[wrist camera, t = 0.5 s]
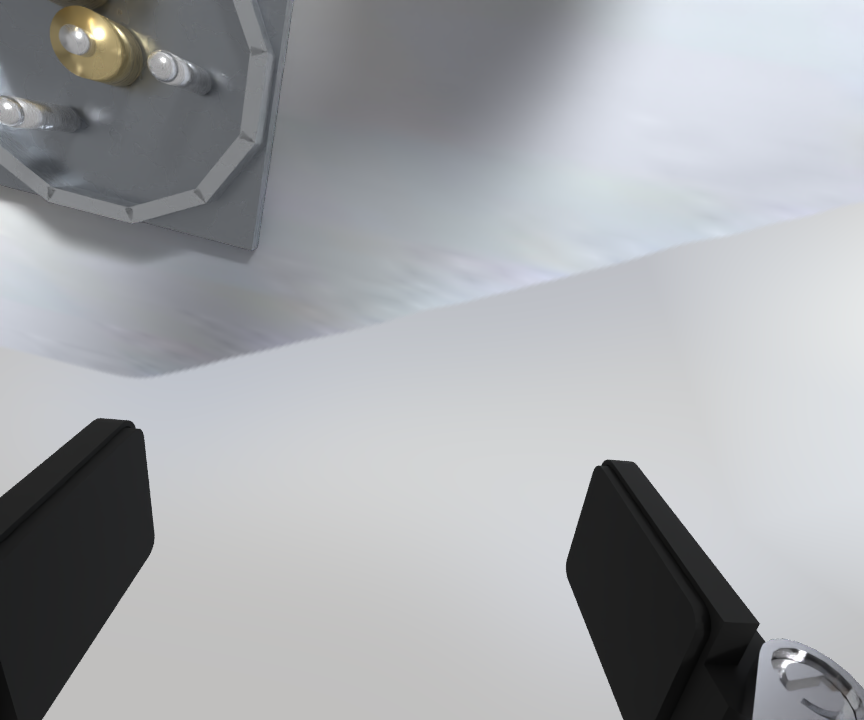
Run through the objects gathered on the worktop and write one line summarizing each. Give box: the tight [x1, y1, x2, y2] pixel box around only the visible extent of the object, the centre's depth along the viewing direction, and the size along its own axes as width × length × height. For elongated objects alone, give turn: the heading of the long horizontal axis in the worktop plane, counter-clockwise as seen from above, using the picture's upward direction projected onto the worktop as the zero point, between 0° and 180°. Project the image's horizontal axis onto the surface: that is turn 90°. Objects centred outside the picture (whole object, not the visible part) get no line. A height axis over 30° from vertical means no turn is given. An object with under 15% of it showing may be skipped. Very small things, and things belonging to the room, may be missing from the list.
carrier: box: [0, 0, 294, 251], centre depth 28 cm, size 20×20×7 cm
